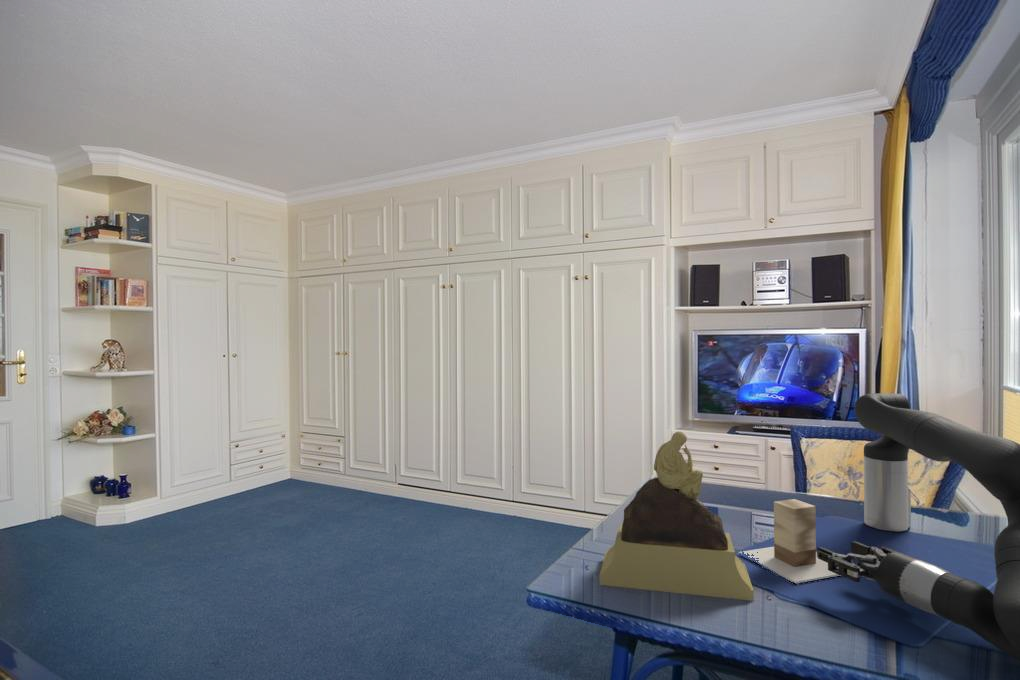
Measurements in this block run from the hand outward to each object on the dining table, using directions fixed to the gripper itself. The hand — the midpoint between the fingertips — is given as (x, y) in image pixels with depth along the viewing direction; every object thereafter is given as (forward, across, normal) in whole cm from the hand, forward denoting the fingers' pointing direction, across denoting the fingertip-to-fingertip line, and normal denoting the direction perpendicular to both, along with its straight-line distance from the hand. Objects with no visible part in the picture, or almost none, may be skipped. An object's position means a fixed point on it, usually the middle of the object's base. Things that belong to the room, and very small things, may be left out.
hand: (835, 549), depth 110 cm
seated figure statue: (+13, -28, -7) cm, 32 cm away
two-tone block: (+10, 0, +6) cm, 12 cm away
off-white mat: (+10, 0, -7) cm, 12 cm away
